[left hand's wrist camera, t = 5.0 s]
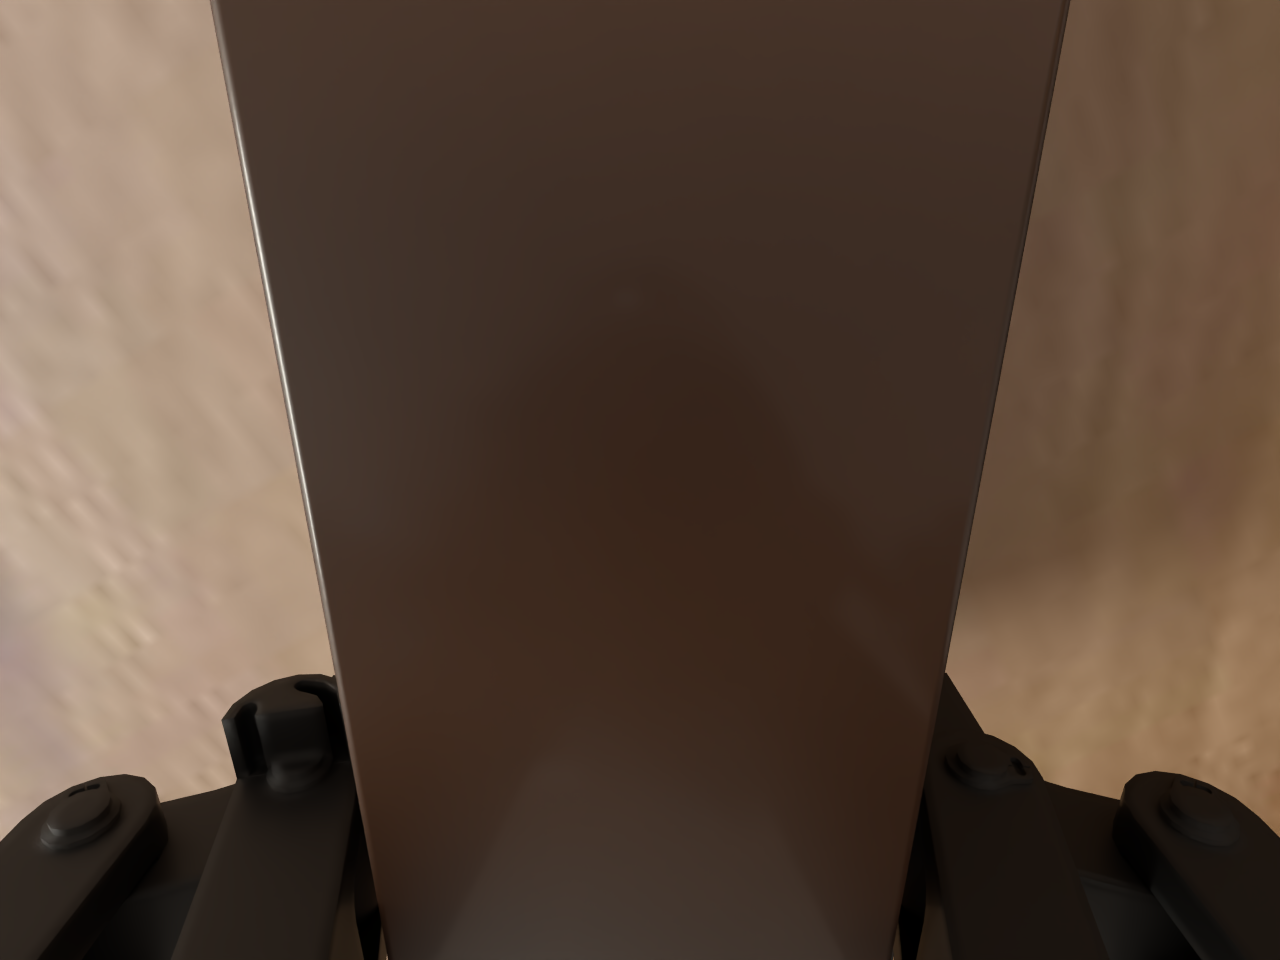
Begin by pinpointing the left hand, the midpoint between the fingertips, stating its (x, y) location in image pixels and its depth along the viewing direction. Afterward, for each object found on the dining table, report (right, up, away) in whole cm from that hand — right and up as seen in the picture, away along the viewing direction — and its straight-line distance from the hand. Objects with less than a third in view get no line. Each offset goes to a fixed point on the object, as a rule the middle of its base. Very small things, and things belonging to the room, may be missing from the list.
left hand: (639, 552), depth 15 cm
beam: (0, +10, -4) cm, 10 cm away
